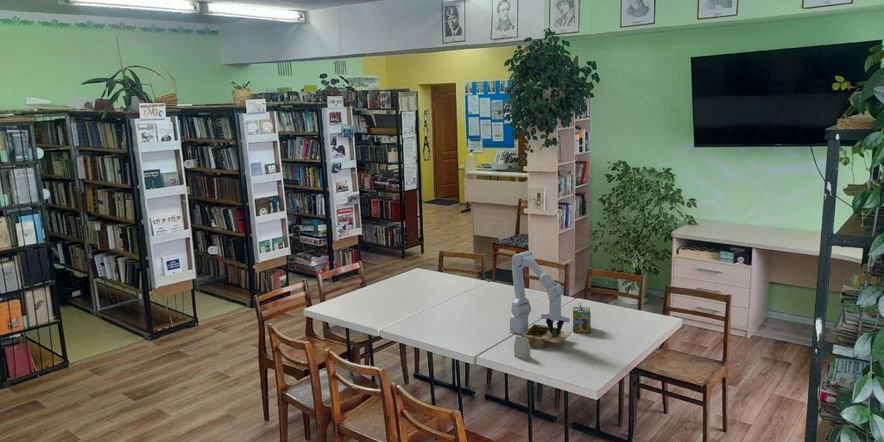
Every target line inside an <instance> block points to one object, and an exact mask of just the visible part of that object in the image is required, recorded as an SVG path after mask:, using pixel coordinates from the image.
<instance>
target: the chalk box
mask: <svg viewBox="0 0 884 442" xmlns="http://www.w3.org/2000/svg"><path fill="white" fill-rule="evenodd" d="M591 317H592V316H591V307H590V306H589V307H587V306H582V304H581V302H579V306H572V332H573V333H588V334H589V333H590V334H591V331H592V330H591V329H592V328H591V325H592V324H591V323H592V322H591V320H592V319H591Z"/></svg>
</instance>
